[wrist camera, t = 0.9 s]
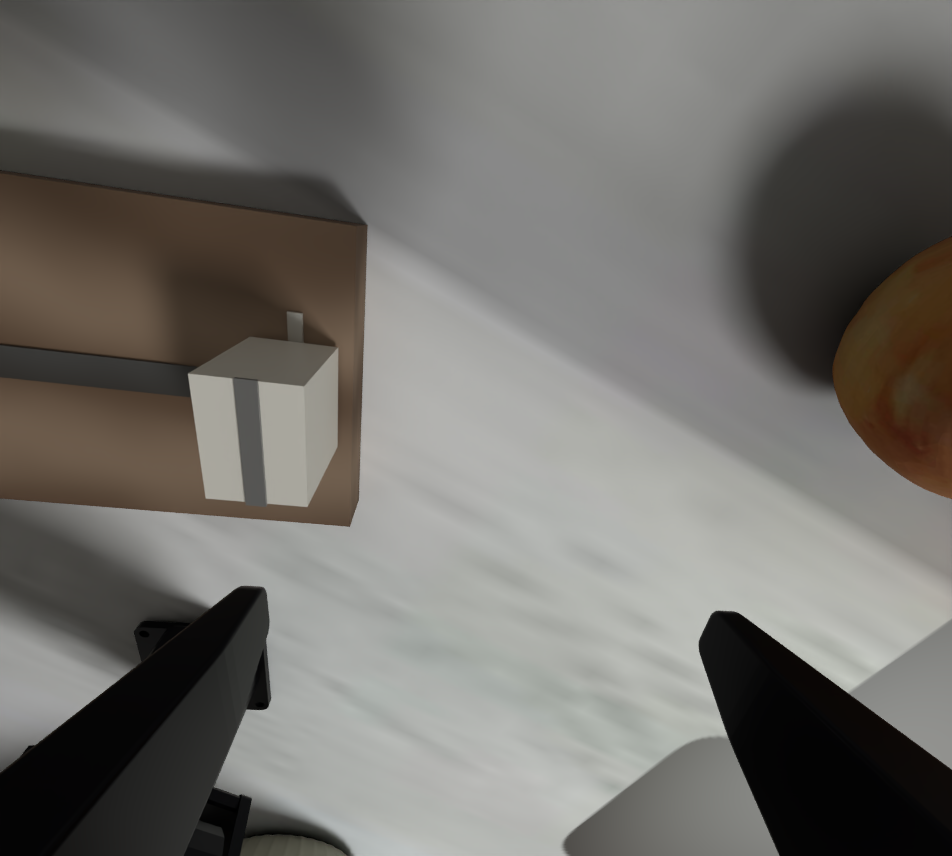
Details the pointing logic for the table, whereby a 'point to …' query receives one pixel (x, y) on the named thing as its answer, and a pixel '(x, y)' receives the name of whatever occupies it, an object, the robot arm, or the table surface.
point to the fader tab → (266, 420)
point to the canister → (287, 846)
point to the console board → (158, 338)
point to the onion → (904, 370)
